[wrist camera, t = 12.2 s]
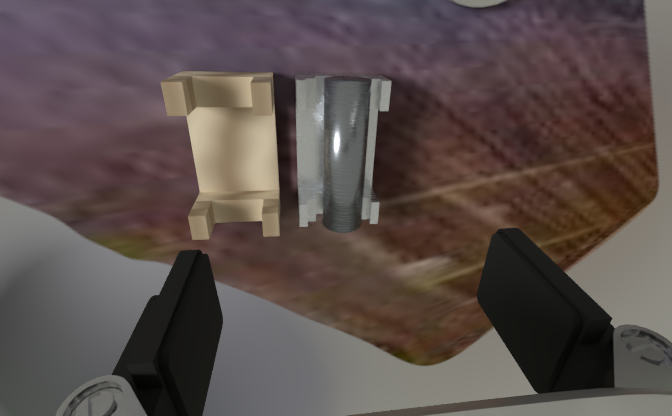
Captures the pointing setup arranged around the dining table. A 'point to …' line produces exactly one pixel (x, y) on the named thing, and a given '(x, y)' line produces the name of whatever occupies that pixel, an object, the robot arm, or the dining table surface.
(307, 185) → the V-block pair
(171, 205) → the dining table surface
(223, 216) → the bearing cradle
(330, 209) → the steel axle
